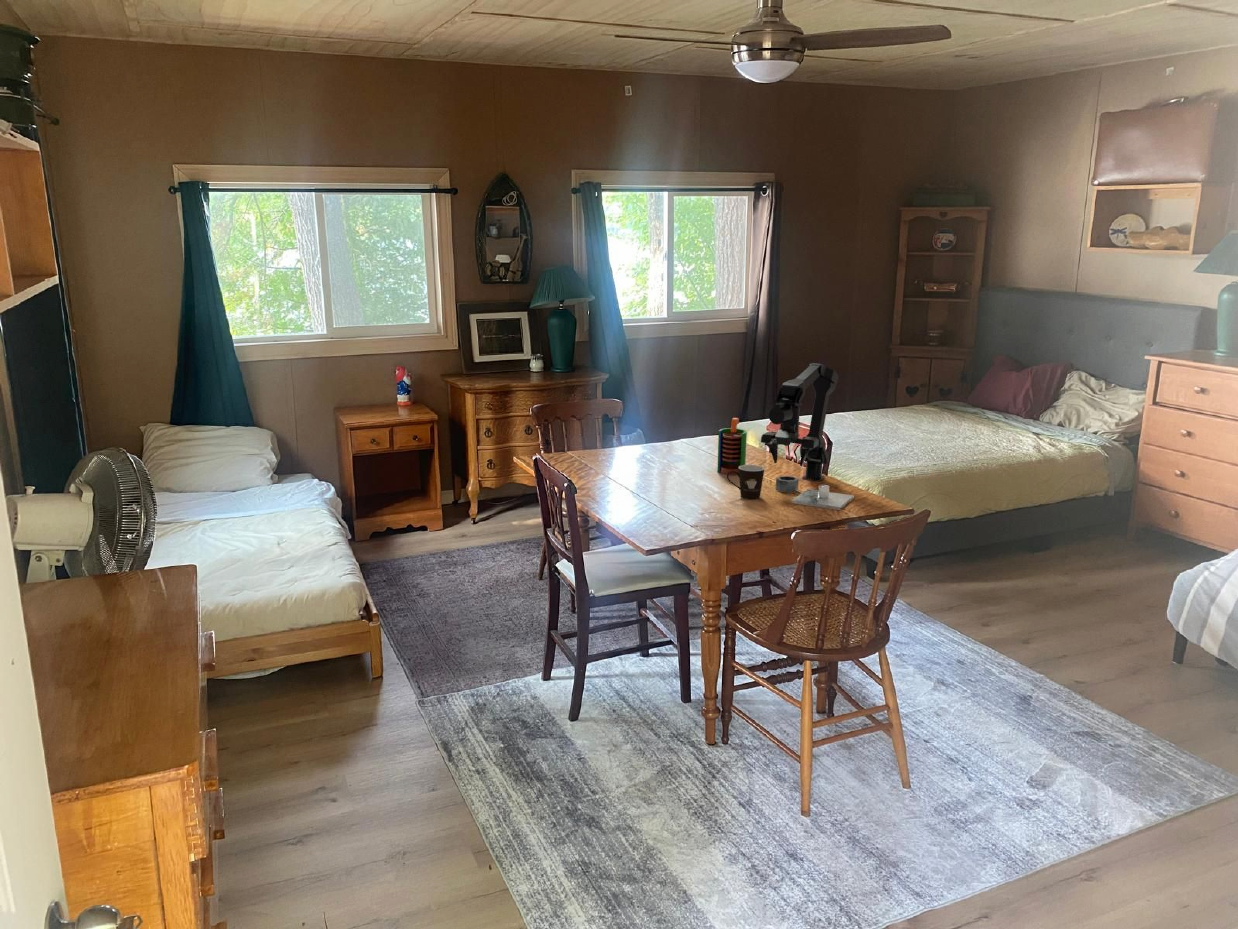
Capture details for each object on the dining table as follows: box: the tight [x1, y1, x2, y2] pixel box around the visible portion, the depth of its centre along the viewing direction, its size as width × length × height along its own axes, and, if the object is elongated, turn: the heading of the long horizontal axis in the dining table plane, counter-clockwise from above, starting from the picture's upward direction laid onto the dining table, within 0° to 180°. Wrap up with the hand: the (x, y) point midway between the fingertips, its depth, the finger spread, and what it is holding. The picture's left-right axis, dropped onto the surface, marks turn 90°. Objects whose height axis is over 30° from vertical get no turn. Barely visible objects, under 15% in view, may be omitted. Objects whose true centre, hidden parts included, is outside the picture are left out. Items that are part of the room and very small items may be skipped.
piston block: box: [791, 484, 855, 511], centre depth 311 cm, size 16×16×5 cm
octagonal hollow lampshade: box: [775, 475, 800, 493], centre depth 324 cm, size 7×7×4 cm
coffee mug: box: [726, 464, 766, 500], centre depth 315 cm, size 12×9×10 cm
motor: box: [717, 417, 748, 476], centre depth 345 cm, size 10×9×20 cm
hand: (788, 464), depth 322 cm, fingers open, 9 cm apart
